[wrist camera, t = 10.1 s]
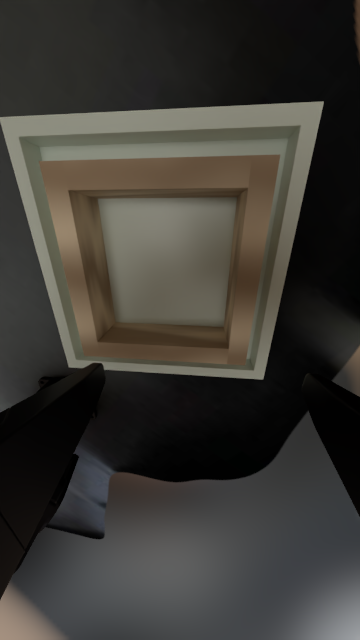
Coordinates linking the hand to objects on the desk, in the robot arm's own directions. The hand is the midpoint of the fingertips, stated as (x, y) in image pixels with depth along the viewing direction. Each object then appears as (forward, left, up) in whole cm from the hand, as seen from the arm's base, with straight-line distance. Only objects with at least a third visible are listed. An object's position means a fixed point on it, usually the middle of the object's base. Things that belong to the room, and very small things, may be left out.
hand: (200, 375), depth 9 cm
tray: (+3, +4, -12) cm, 12 cm away
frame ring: (+3, +3, -11) cm, 12 cm away
